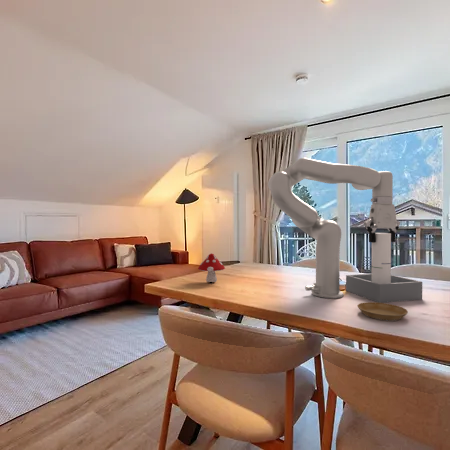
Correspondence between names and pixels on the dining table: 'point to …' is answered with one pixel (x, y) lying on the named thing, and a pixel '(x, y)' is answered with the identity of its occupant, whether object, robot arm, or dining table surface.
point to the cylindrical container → (381, 259)
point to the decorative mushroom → (211, 267)
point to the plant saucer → (382, 311)
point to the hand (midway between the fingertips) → (382, 242)
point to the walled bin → (384, 288)
